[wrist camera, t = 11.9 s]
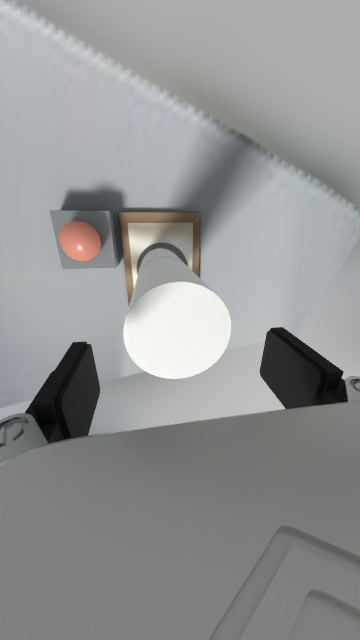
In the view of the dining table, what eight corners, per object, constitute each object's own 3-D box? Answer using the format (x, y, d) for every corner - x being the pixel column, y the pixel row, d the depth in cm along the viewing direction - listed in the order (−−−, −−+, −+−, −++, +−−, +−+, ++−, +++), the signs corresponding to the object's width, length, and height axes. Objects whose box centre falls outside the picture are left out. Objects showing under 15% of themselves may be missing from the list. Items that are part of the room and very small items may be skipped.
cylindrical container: (188, 274, 37) (248, 344, 15) (156, 296, 38) (165, 394, 16) (166, 239, 35) (197, 257, 12) (132, 264, 35) (98, 324, 13)
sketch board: (119, 212, 33) (118, 212, 32) (199, 212, 35) (200, 212, 34) (130, 316, 40) (130, 318, 39) (196, 313, 42) (197, 315, 41)
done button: (65, 221, 31) (55, 220, 27) (101, 221, 31) (96, 220, 28) (72, 258, 33) (64, 261, 29) (106, 257, 33) (102, 260, 30)
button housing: (59, 212, 32) (49, 210, 29) (112, 212, 33) (108, 210, 30) (70, 265, 35) (62, 268, 32) (119, 264, 36) (116, 267, 33)
